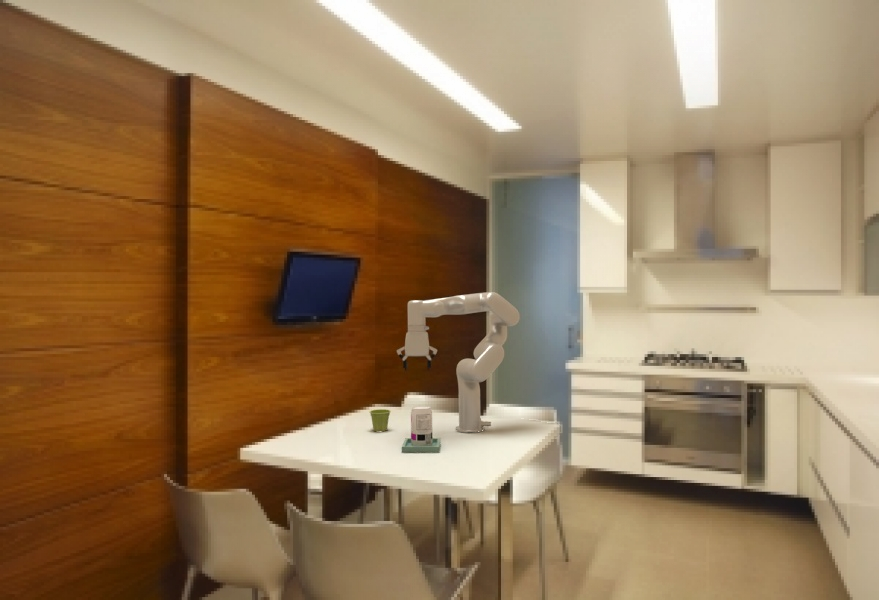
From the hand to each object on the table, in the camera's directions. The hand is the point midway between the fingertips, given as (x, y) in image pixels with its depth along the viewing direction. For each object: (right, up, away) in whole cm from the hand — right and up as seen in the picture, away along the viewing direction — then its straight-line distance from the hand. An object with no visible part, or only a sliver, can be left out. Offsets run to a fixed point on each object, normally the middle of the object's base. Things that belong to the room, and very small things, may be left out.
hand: (417, 369), depth 229 cm
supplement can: (+3, -28, -20) cm, 34 cm away
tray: (+3, -28, -20) cm, 34 cm away
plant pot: (-17, -29, +12) cm, 36 cm away
